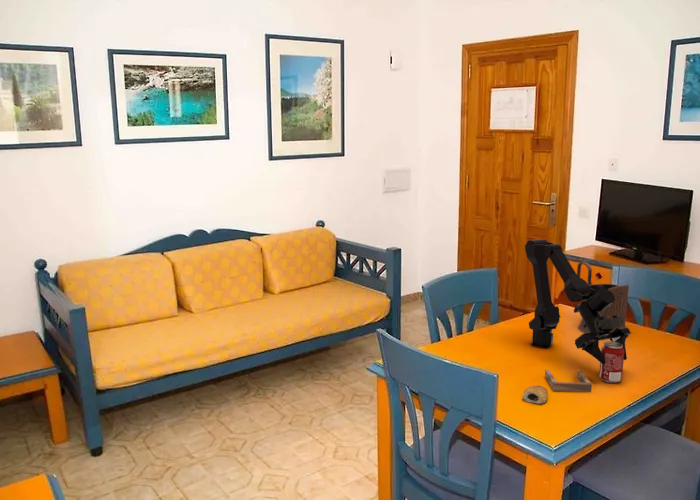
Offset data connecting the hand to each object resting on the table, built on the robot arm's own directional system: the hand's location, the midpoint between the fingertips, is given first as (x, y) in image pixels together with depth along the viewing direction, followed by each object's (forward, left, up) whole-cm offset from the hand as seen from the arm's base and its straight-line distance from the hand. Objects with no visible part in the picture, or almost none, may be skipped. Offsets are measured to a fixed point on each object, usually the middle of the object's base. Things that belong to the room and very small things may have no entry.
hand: (615, 361), depth 194 cm
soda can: (-1, +1, -7) cm, 7 cm away
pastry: (-18, -25, -7) cm, 31 cm away
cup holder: (-14, +50, -7) cm, 53 cm away
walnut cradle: (-12, -10, -7) cm, 17 cm away
